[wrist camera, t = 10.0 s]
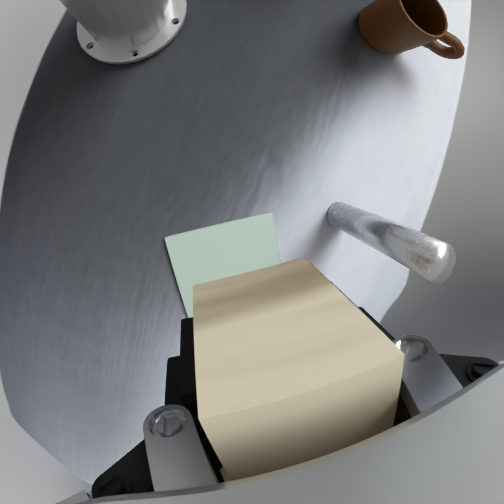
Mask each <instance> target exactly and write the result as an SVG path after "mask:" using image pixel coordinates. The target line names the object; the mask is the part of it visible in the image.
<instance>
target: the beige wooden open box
mask: <svg viewBox="0 0 504 504" xmlns="http://www.w3.org/2000/svg"><path fill="white" fill-rule="evenodd" d="M193 327H194V353H195V373H196V391H197V406H198V419H199V421H200V423H201V425H202V427H203V429H204V431H205V433H206V435H207V437H208V439H209V441H210V443H211V445H212V447H213V449H214V451H215V452H216V454H217V456H218V458H219V460H220V462H221V463H222V465H223V467H222V468H221V471H222V473H223V476H224V478H225V480H226V482H228V481H233V480H238V479H243V478H248V477H252V476H256V475H261V474H265V473H268V472H272V471H276V470H280V469H283V468H287V467H290V466H294V465H297V464H300V463H304V462H307V461H310V460H313V459H316V458H319V457H322V456H325V455H327V454H330V453H333V452H336V451H338V450H341V449H344V448H346V447H349V446H351V445H354V444H356V443H359V442H361V441H363V440H366V439H368V438H370V437H373V436H375V435H377V434H379V433H382V432H384V431H386V430H388V429H390V428H392V427H393V423H394V418H395V413H396V408H397V402H398V397H399V391H400V385H401V378H402V371H403V364H404V356H405V354H404V353H403V352H402V351H401V350H400V349H399V348H398V347H397V346H396V345H395V344H394V343H393V342H392V341H391V340H390V339H389V338H388V337H387V336H386V335H385V334H384V333H383V332H382V331H381V330H380V329H379V328H378V327H377V326H376V325H375V324H374V323H373V322H372V321H371V320H370V319H369V318H368V317H367V316H366V315H365V314H364V313H363V312H362V311H361V310H360V309H358V308H357V307H356V306H355V305H354V304H353V303H352V302H351V301H350V300H349V299H348V298H347V297H346V296H345V295H344V294H343V293H342V292H341V291H340V290H339V289H338V288H337V287H336V286H335V285H334V284H332V283H331V282H330V281H329V280H328V279H327V278H326V277H325V276H324V275H323V274H322V273H321V272H320V271H319V270H318V269H317V268H316V267H315V266H313V265H312V264H311V263H310V262H309V261H308V260H307V259H306V258H301V259H297V260H294V261H290V262H286V263H282V264H278V265H274V266H270V267H266V268H262V269H258V270H254V271H250V272H246V273H242V274H238V275H234V276H230V277H225V278H221V279H217V280H213V281H209V282H205V283H201V284H197V285H193Z"/></svg>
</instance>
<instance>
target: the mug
mask: <svg viewBox="0 0 504 504" xmlns="http://www.w3.org/2000/svg"><path fill="white" fill-rule="evenodd" d="M447 27H448V23H447V18H446V15H445V12H444V10H443V8H442V6H441V5H440V3H439V2H438V1H437V0H375V1H374V2H372V3H371V4H369V5H368V6H367V7H365V8H364V9H363V10H362V11H361V13H360V15H359V28H360V31H361V33H362V35H363V37H364V38H365V40H366V41H367V42H368V43H369V44H370V45H371V46H372V47H373V48H375V49H376V50H378V51H380V52H382V53H385V54H390V55H392V54H399V53H402V52H404V51H407V50H410V49H413V48H416V47H419V46H424V47H426V48H428V49H430V50H431V51H432V52H434V53H436V54H437V55H439V56H441V57H444V58H448V59H458V58H461V57H462V56H463V55H464V46H463V44H462V43H461V41H460V40H459V39H458V38H457V37H456V36H454V35H452V34H451V33H449V32H447ZM437 39H439V40H441V41H442V42H444V43H446V44H448V45H449V46H451V47H446V46H443V45H442V44H440V43H439V42H437V41H436V40H437Z"/></svg>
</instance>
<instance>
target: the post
mask: <svg viewBox="0 0 504 504" xmlns="http://www.w3.org/2000/svg"><path fill="white" fill-rule="evenodd" d="M327 219H328V221H329V223H330V224H331V225H332V226H334V227H336V228H338V229H340V230H342V231H344V232H345V233H347V234H349V235H351V236H353V237H355V238H356V239H358V240H360V241H362V242H364V243H365V244H367V245H369V246H371V247H373V248H374V249H376V250H378V251H380V252H382V253H383V254H385V255H387V256H389V257H390V258H392V259H394V260H396V261H397V262H399V263H401V264H402V265H404V266H406V267H408V268H409V269H411V270H413V271H414V272H416V273H418V274H419V275H421V276H423V277H424V278H426V279H428V280H430V281H431V282H433V283H435V284H439V283H442V282H444V281H445V280H446V279H447V278H448V277H449V276H450V274H451V273H452V271H453V268H454V265H455V261H456V254H455V250H454V248H453V247H452V246H451V245H450V244H448V243H445V242H443V241H441V240H438V239H436V238H433V237H431V236H429V235H426V234H424V233H421V232H419V231H416V230H414V229H411V228H409V227H406V226H404V225H401V224H399V223H396V222H394V221H391V220H388V219H386V218H383V217H380V216H378V215H375V214H372V213H370V212H367V211H364V210H362V209H359V208H356V207H353V206H350V205H348V204H345V203H342V202H336V203H334V204H332V205H331V206H330V207H329V209H328V212H327Z"/></svg>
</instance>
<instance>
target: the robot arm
mask: <svg viewBox="0 0 504 504" xmlns="http://www.w3.org/2000/svg"><path fill="white" fill-rule="evenodd" d="M60 1H61V2H62V4H63V5H64V6H65V7H66V8H67V9H68V10H69V12H70V13H71V14H72V15H73V16H74V17H75V18H76V19H77V28H76V32H77V38H78V41H79V43H80V45H81V47H82V48H83V49H84V50H85V52H86V53H88V54H89V55H90V56H91V57H92V58H94V59H96V60H98V61H101V62H104V63H108V64H129V63H133V62H137V61H140V60H143V59H145V58H148V57H150V56H152V55H154V54H156V53H157V52H159V51H161V50H162V49H163V48H164V47H166V46H167V45H168V44H169V43H170V42H171V41H172V40H173V39H174V38H175V37H176V36H177V34H178V33H179V31H180V30H181V28H182V26H183V24H184V21H185V18H186V13H187V2H186V0H60ZM174 23H178V24H176V25H174ZM92 46H93V48H91V47H92ZM134 54H138V55H137V56H135V57H134ZM330 282H331V281H330ZM331 283H332V282H331ZM332 284H333V283H332ZM340 291H341V290H340ZM341 292H342V291H341ZM342 293H343V292H342ZM343 294H344V293H343ZM344 295H345V294H344ZM345 296H346V295H345ZM346 297H347V296H346ZM347 298H348V297H347ZM348 299H349V298H348ZM349 300H350V299H349ZM350 301H351V300H350ZM351 302H352V301H351ZM352 303H353V302H352ZM353 304H354V303H353ZM354 305H355V304H354ZM355 306H356V305H355ZM356 307H357V306H356ZM357 308H358V309H360V310H361V311H362V312H363V313H364V314H365V315H366V316H367V317H368V318H369V319H370V320H371V321H372V322H373V323H374V324H375V325H376V326H377V327H378V328H379V329H380V330H381V331H382V332H383V333H384V334H385V335H386V336H387V337H388V338H389V339H390V340H391V341H392V342H393V343H394V344H395V345H396V346H397V347H398V348H399V349H400V350H401V351H402V352H403V353H404V354H405V356H404V364H403V371H402V378H401V385H400V391H399V397H398V402H397V408H396V413H395V418H394V423H393V427H392V428H390V429H388V430H386V431H384V432H382V433H379V434H377V435H375V436H373V437H370V438H368V439H366V440H363V441H361V442H359V443H356V444H354V445H351V446H349V447H346V448H344V449H341V450H338V451H336V452H333V453H330V454H327V455H325V456H322V457H319V458H316V459H313V460H310V461H307V462H304V463H300V464H297V465H294V466H290V467H287V468H283V469H280V470H276V471H272V472H268V473H265V474H261V475H256V476H252V477H248V478H243V479H238V480H233V481H228V482H226V480H225V478H224V476H223V473H222V471H221V468H222V467H223V465H222V463H221V462H220V460H219V458H218V456H217V454H216V452H215V451H214V449H213V447H212V445H211V443H210V441H209V439H208V437H207V435H206V433H205V431H204V429H203V427H202V425H201V423H200V421H199V419H198V406H197V391H196V373H195V353H194V327H193V317H190V318H186V319H182V320H181V341H180V356H176V357H171V358H168V361H167V374H166V390H165V406H161V407H159V408H157V409H155V410H154V411H152V412H151V413H150V414H149V415H148V416H147V417H146V419H145V421H144V423H143V432H144V438H145V439H144V440H143V441H141V442H140V443H139V444H138V445H137V446H136V447H134V448H133V449H132V450H131V451H130V452H128V453H127V454H126V455H125V456H124V457H122V458H121V459H120V460H119V461H117V462H116V463H115V464H114V465H112V466H111V467H110V468H109V469H107V470H106V471H105V472H104V473H102V474H101V475H100V476H99V477H98V478H97V479H96V480H95V482H94V484H93V486H92V491H90V492H86V491H85V490H83V491H81V492H79V493H77V494H75V495H73V496H71V497H69V498H67V499H65V500H63V501H61V502H58V503H56V504H504V361H499V364H497V363H496V362H494V361H493V360H490V359H488V358H483V357H468V356H457V355H445V354H438V352H437V351H436V350H435V348H434V347H433V346H432V345H431V343H430V342H429V341H428V340H427V339H425V338H423V337H420V336H416V335H406V336H401V337H399V338H396V339H395V338H393V337H392V336H391V335H390V334H389V333H388V332H387V331H386V330H385V329H384V328H383V327H382V326H381V325H380V324H379V323H378V322H377V321H376V320H375V319H374V318H373V317H372V316H371V315H370V314H369V313H367V312H366V311H365V310H364V309H363V308H362V307H357Z"/></svg>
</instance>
